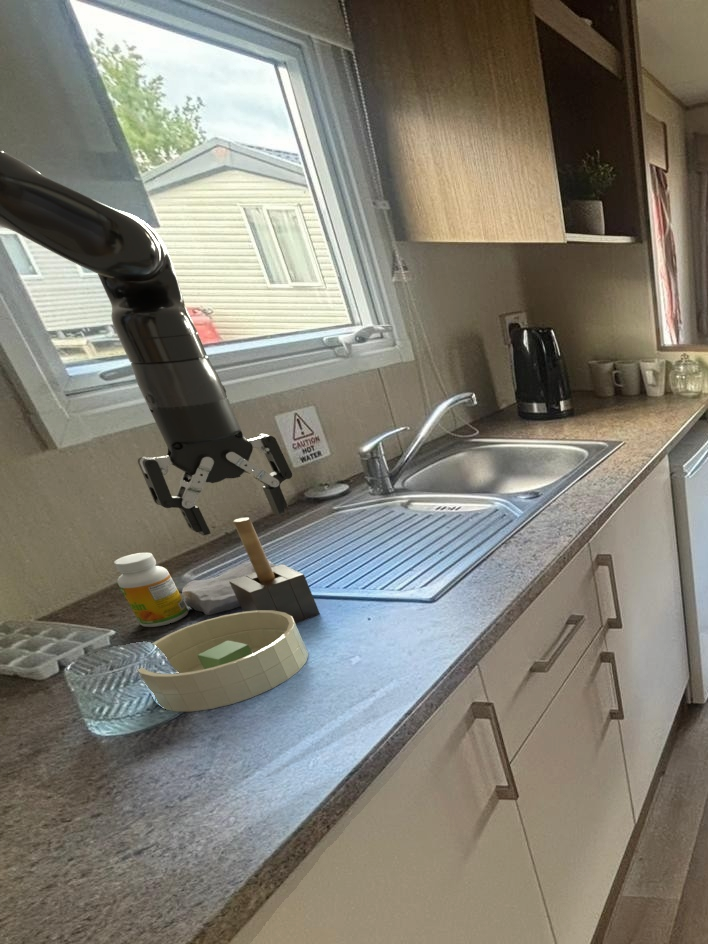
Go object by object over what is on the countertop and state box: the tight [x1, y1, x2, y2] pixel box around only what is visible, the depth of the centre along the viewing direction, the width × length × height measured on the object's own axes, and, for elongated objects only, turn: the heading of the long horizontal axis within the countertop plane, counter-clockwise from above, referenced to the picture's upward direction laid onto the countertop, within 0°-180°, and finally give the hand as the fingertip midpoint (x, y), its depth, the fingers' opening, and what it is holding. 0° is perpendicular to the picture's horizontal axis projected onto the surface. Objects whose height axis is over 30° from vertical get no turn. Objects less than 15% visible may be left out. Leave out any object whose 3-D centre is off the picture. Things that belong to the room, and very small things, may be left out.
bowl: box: [137, 610, 309, 713], centre depth 81 cm, size 15×15×6 cm
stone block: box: [181, 560, 277, 616], centre depth 100 cm, size 12×5×10 cm
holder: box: [229, 563, 321, 625], centre depth 93 cm, size 7×7×7 cm
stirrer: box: [232, 516, 275, 583], centre depth 91 cm, size 2×2×16 cm
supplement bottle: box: [113, 552, 189, 628], centre depth 93 cm, size 5×5×10 cm
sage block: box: [197, 640, 252, 669], centre depth 81 cm, size 4×4×4 cm
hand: (243, 523), depth 87 cm, fingers open, 8 cm apart
